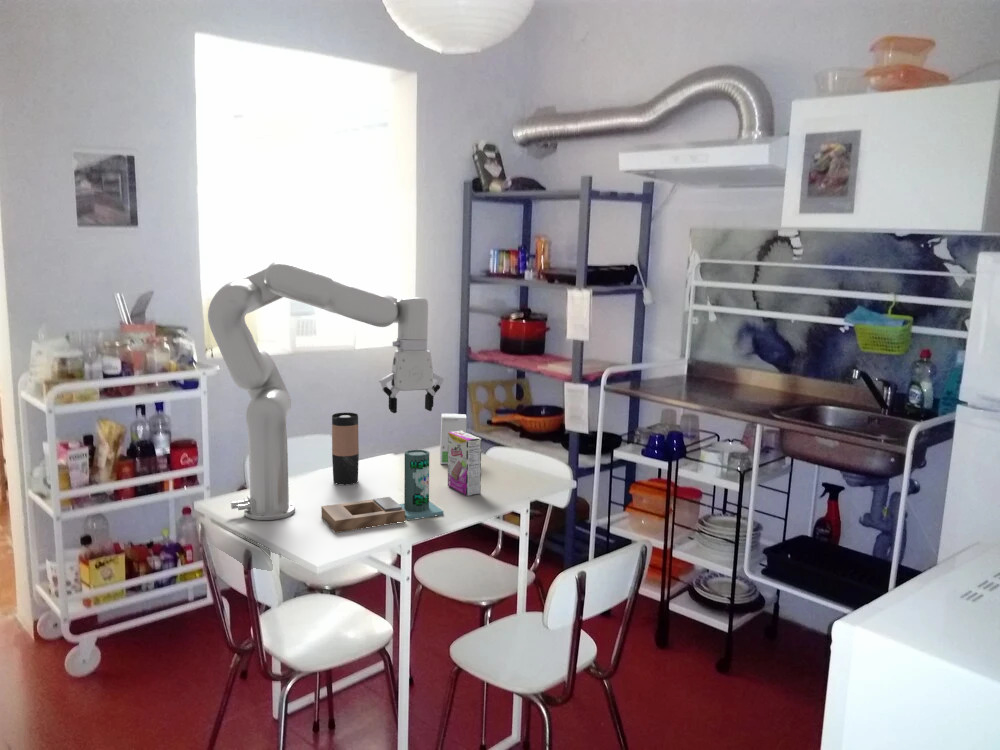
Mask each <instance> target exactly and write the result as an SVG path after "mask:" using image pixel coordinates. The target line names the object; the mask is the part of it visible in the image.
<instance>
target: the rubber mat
mask: <svg viewBox="0 0 1000 750" xmlns="http://www.w3.org/2000/svg"><path fill="white" fill-rule="evenodd" d="M398 504H399V505H400V506H401V507H402V509H404V503H398ZM404 510H405V509H404ZM435 515H439V516H444V510H442V509H441V508H439V507H438V506H437V505H436V504H435V503H433V502H432V501H430V500H429V509H428V510H426V511H422V512H410V511H407V510H405V518H406V519H407V520H406V519H405V520H406V521H409V520H408V519H413V520H416V519H415V518H419V519H423V518H422V517H426V518H431V517H430V516H433V517H436V516H435Z"/></svg>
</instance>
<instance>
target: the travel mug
mask: <svg viewBox="0 0 1000 750" xmlns="http://www.w3.org/2000/svg"><path fill="white" fill-rule="evenodd" d="M359 443H360V441H359V414H358V413H355V412H336V413H334V414H332V415H331V455H332V456H331V459H332V462H331V463H332V477H333V483H334V484H335V483H337V484H336V485H339V484H344V485H343V486H347V485H346V484H350V485H354V484H353V483H355V484H357V483H358V482H357V481H359V459H360V458H359V456H360V455H359V453H360V451H359V450H360V449H359V445H360V444H359ZM356 482H357V483H356Z"/></svg>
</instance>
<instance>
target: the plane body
mask: <svg viewBox="0 0 1000 750" xmlns="http://www.w3.org/2000/svg"><path fill="white" fill-rule="evenodd" d="M399 504H400V503H398V502H396V501H395V500H394V499H393V498H392V497H391V496H386V497H385V496H384V497H379V498H373V499H363V500H359V501H358V500H357V501H352V502H351V501H350V502H343V503H336V504H329V505H321V506H320V507H321V519H322V520H323V521H324V522H325V523H326V524H327V525H328V526H329V528H330V529H331V530H332V531H333V532H334V533H342V532H349V531H355V530H356V531H357V530H361V528H363V529H367V528H366V527H370V528H373V527H372V526H376V527H379V526H378V525H383V526H385V525H384V524H389V525H391V524H390V523H396V524H398V523H397V522H403V523H405V522H406V519H405V510H404V509H402V507H401V506H400V505H399ZM404 521H405V522H404Z"/></svg>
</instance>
